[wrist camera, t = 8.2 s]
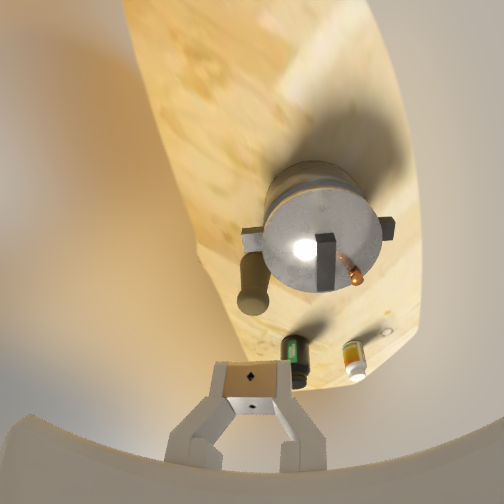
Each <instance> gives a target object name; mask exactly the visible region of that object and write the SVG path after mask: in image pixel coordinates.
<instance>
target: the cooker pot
mask: <svg viewBox="0 0 504 504" xmlns="http://www.w3.org/2000/svg"><path fill="white" fill-rule="evenodd" d="M321 185H330V186H338V187H342V188H346V189H348V190H351V191H353V192H355V193H356V194H358V195H360V196H361V197H362V198H363V199H365V200H366V198H365V197H364V195H363V194H362V192H361V191H360V189H359V188H358V187H357V185H356V184H355V182H354V181H353V179H352V178H351V177H350V176H349V175H348V174H347V173H346V172H345V171H344V170H343V169H341V168H339V167H338V166H336V165H333V164H331V163H327V162H323V161H306V162H301V163H298V164H295V165H293V166H291V167H289V168H287V169H285V170H284V171H283V172H281V173H280V174H279V175H278V176H277V177H276V178H275V179H274V181H273V182H272V183H271V185H270V187H269V189H268V192H267V194H266V198H265V209H264V224H263V227H252V228H242V233H241V236H242V241H243V246H244V251H245V252H256V251H262V239H263V231H264V227H265V224H266V222H267V219H268V218H269V216H270V214H271V213H272V211H273V210H274V209H275V208H276V206H277V205H278V204H279V203H281V202H282V201H283V200H284V199H286V198H287V197H288V196H290V195H292V194H293V193H295V192H297V191H300V190H302V189H305V188H309V187H313V186H321ZM366 201H367V200H366ZM367 203H368V201H367ZM368 204H369V203H368ZM369 205H370V204H369ZM378 219H379V222H380V225H381V228H382V241H388V240H393V236H394V229H395V221H394V219H393V218H392V217H378Z"/></svg>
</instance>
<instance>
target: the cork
mask: <svg viewBox="0 0 504 504" xmlns="http://www.w3.org/2000/svg"><path fill="white" fill-rule="evenodd" d="M240 271H241V291H240V293H239V295H238V298H237V304H238V307H239V309H240V310H241V311H242V312H243V313H244V314H247V315H250V316H257V315H260V314H262V313H264V312H265V311H266V310H267V308H268V306H269V296H268V294H267V288H268V284H269V280H270V275H271V272H270V270H269V269H268V267H267V265H266V263H265V260H264V257H263V254H262V253H250V254H247V255H246V256H244V257H243V258H242V260H241V263H240Z"/></svg>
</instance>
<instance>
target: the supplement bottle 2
mask: <svg viewBox="0 0 504 504" xmlns="http://www.w3.org/2000/svg"><path fill="white" fill-rule="evenodd" d="M342 350H343V356H344V363H345V369H346V372H347V373H348V374H349V377H350V380H351V381H353V382H356V381H360V380H363V379H364V378H365V377H366V374H365V369H366V367H367V365H366V360H365V355H364V350H363V346H362V343H361V342H359V341H351V342H348V343H346V344H345V345H344V346H343V348H342Z"/></svg>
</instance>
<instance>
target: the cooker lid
mask: <svg viewBox="0 0 504 504" xmlns="http://www.w3.org/2000/svg"><path fill="white" fill-rule="evenodd" d="M381 246H382V228H381V225H380V222H379V219H378V217H377V215H376V214H375V212H374V211H373V209H372V208H371V206H370V205H369V204H368V203H367V201H366V200H365V199H363V198H362V197H361V196H360V195H358V194H356V193H355V192H353V191H351V190H348V189H346V188H342V187H338V186H330V185H321V186H313V187H309V188H305V189H302V190H300V191H297V192H295V193H293V194H292V195H290V196H288V197H287V198H286V199H284V200H283V201H282V202H281V203H279V204H278V205H277V206H276V208H275V209H274V210H273V211H272V213H271V214H270V216H269V218H268V219H267V222H266V224H265V227H264V231H263V239H262V253H263V257H264V260H265V263H266V265H267V267H268V269H269V270H270V272H271V273H272V274H273V275H274V276H275V277H276V278H277V279H278V280H279V281H281V282H282V283H283V284H285V285H287V286H289V287H291V288H293V289H296V290H300V291H304V292H310V293H324V292H331V291H335V290H339V289H342V288H344V287H347V286H349V285H351V284H352V285H354V286H358V285H360V284H362V283H363V281H364V279H363V276H364V275H365V274H366V273H367V272H368V271H369V270H370V269H371V267H372V266H373V265H374V263H375V262H376V260H377V258H378V256H379V253H380V250H381Z"/></svg>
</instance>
